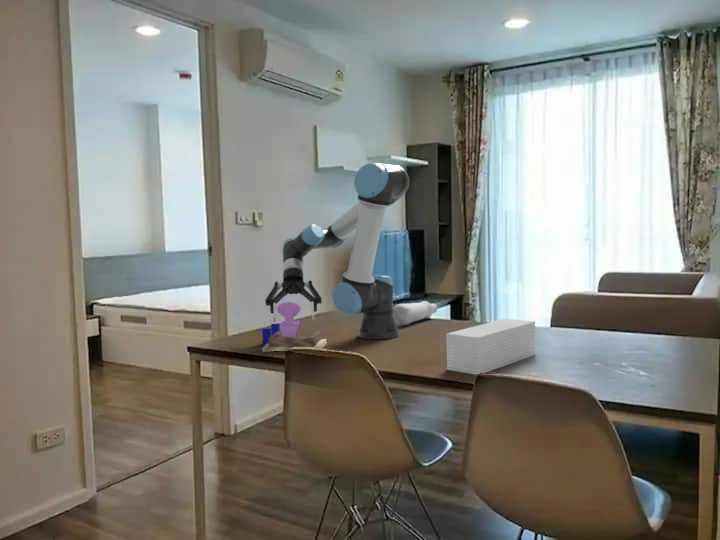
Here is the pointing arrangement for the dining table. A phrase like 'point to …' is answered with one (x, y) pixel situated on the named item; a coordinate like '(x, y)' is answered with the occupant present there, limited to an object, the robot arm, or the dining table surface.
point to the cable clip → (270, 332)
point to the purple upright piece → (289, 319)
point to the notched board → (293, 342)
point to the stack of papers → (490, 345)
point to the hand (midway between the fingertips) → (293, 319)
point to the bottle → (413, 312)
